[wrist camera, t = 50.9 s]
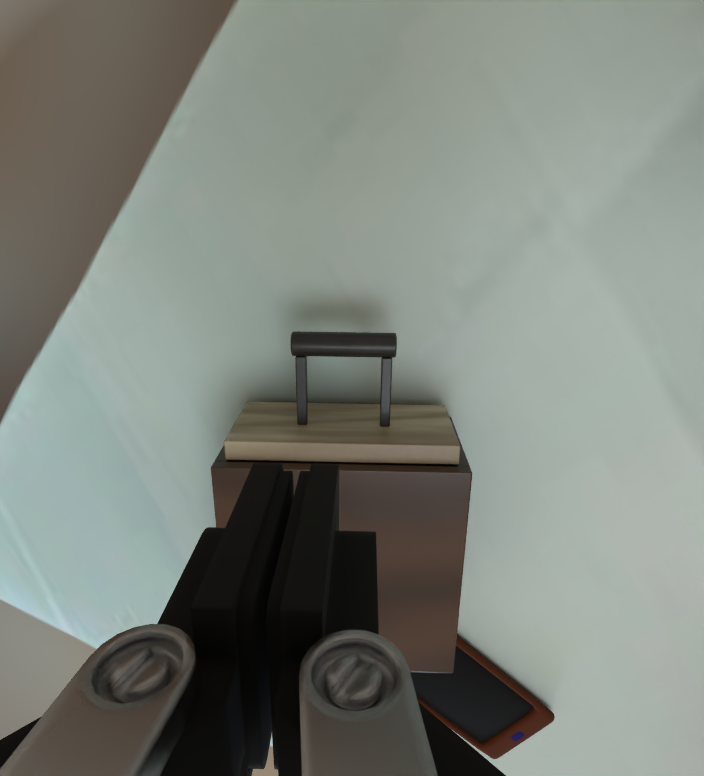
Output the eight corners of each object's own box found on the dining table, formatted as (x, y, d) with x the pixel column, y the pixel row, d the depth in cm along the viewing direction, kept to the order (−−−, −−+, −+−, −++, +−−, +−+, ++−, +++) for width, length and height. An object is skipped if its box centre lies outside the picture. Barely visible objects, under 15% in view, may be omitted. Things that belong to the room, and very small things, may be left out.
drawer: (242, 318, 34) (215, 342, 28) (451, 321, 34) (469, 346, 28) (257, 566, 40) (238, 629, 34) (433, 571, 40) (444, 635, 34)
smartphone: (494, 763, 46) (369, 671, 43) (492, 752, 47) (369, 661, 44) (558, 721, 44) (432, 621, 41) (554, 711, 45) (431, 612, 42)
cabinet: (242, 412, 37) (210, 467, 29) (451, 416, 37) (472, 472, 29) (253, 582, 42) (228, 666, 34) (437, 587, 41) (453, 673, 34)
